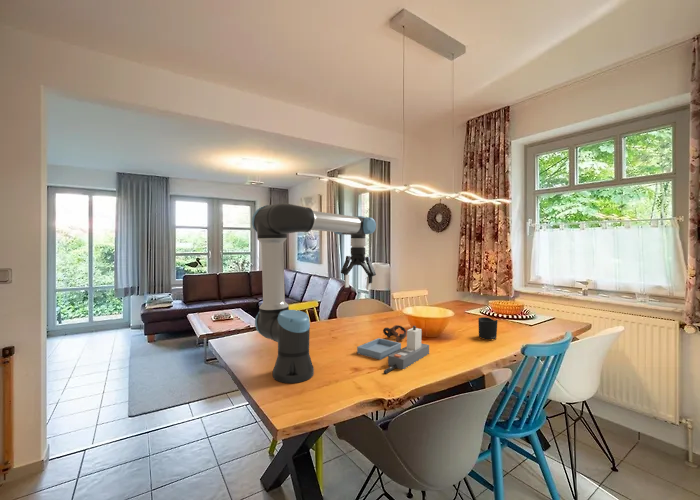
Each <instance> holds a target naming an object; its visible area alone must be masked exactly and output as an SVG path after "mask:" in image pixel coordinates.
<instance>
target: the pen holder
mask: <svg viewBox="0 0 700 500" xmlns="http://www.w3.org/2000/svg"><path fill="white" fill-rule="evenodd" d="M477 319H478V337H479V338H480V337H481V338H480V339H482V338H484V339H483V340H486V339H495V338H496V339H497V335H498V319H495V320H494V319H493V318H491V317H488V316H487V317H485V316H482V317H478V318H477ZM496 339H495V340H496Z"/></svg>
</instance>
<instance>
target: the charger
mask: <svg viewBox="0 0 700 500" xmlns="http://www.w3.org/2000/svg"><path fill="white" fill-rule="evenodd" d="M422 333H423V331H422V328H418V327H417V326H416V325H412V328H410V329H407V330H406V346H407V349H411V350H417V349H419V348H420V347H421V343H422Z"/></svg>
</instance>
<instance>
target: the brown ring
mask: <svg viewBox="0 0 700 500" xmlns="http://www.w3.org/2000/svg"><path fill="white" fill-rule="evenodd" d="M399 329H400V330H401V331H403V332H404V333H399V332H397V330H399ZM382 331H383V332H382V333H383V334H384V335H385V336H386V337H387V338H388V339H390V338H391V337H395V340H394V342H398V343H399V342H400V341H401V340H403V339H406V338H407V330H406V328H405V327H404V326H402V325H399V324H395V325H393V326H392V327H384V328H383V329H382Z"/></svg>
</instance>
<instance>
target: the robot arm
mask: <svg viewBox="0 0 700 500" xmlns="http://www.w3.org/2000/svg"><path fill="white" fill-rule="evenodd" d="M251 226H252V228H253V230H254V231H255V232H256V239H257V240H258V242H259V243H260V244H261V273H262V277H261V278H262V303H261V304H260V305H259V307H258V308H259V309H258V312H257V314H256V316H255V319H254V326H255V329H256V331H257V333H258V334H260V335H261V336H262V337H264V338H266V339H269V340H271V341H273V342H276V343H277V356H276V357H277V358H276V360H275V364H274V367H273V370H272V378H273V379H274V380H275V381H277V382H279V383H285V384H297V383H302V382H306V381H308V380H310V379H311V378H313V377H314V374H315V373H314V372H315V369H314V365H313V362H312V359H311V356H310V333H311V332H310V331H311V330H310V328H311V324H310V317H309V315H308V313H306V312H304V311H301V310H297V309H290V306H289V304H288V302H286V301H285V299H286V297H285V261H284V257H285V256H284V242H285V241H286V240H287V238H288V234H293V233H309V232H311V231H319V232H331V233H334V234H335V235H341V236H342V235H343V236H344V235H346V236H347V235H350V246H351V247H350V255H346V256H345V261H344V262H343V265H342V268H341V270H340V273H341V274H342V275H343V281H344V288H350V274H349V273H350V272H351V270H352V268H354V266H361V267H362V269H363V271H364V272H365V274H366V275H367V276H366V291H370V290H371V289H372V283H373V277H374V276H375V277H376V275H377V274H376V271H375V269H374V265H373V264H372V260H371V256H366V239H367V238H366V235H371V234H374V232H375V231H376V227H377V222H376V221H375V219H374V218H373V217H369V216H368V217H367V216H361V215H354V216H353V215H345V214H339V213H331V212H325V211H317V210H313V209H312V208H311V207H308V206H307V207H306V206H303V205H302V206H301V205H296V204H291V203H285V202H284V203H282V202H281V203H276V204H275V203H274V204H269V205H268V204H266V205H263V206H260V207H259V208H257V209H256V210H255V211H254V212H253V215H252V217H251Z"/></svg>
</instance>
